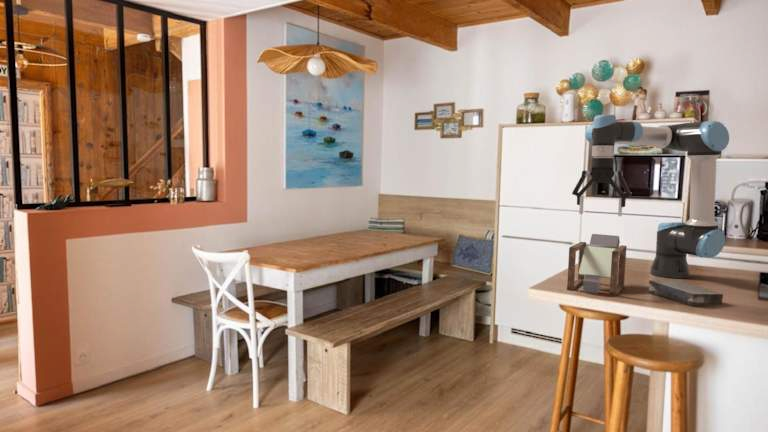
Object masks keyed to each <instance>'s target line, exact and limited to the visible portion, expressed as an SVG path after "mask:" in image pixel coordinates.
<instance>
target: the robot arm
mask: <svg viewBox="0 0 768 432" xmlns="http://www.w3.org/2000/svg"><path fill="white" fill-rule="evenodd" d="M616 118H617V117H616V115H614V114H599V115H595V116H594V118H593V123H592V124H591V125H589V126H588V127H587V128H586V130H585V138H586V141H588V142H589V144H590V143H591V144H592V146H591V149H592V150H591V157H592V159H591V165H590V167H591V168H590V171H589V170H582V172H581V177H580V178H579V180H578V182H577V183H576V185H575V187H574V189H572V192H571V194H572V195H574V196H576V205H577V206H579V213H578V215H583V214H584V200H585V199H584V198H585V196H584V194H585V192H587V190H588V189H590V187H592V185H593V184H594V183H598V184H599V183H600V184H601V183H602V184H606V183H607V184H609V185H610V186H611V187H612V188H613V189H614V190H615V191H616V193H617V194H618V195H619V196H620V198H618V209H617V210H618V212H617V213H618V215H617V217H622V216H623V214H622V213H623V208H624V207H626V200H627V198H629V197H631V196H632V193H631V190H630V189H629V187H628V185H627V182H626V181H625V178H624V176H623V175H624V173H623V170H618V171H614V157H615V144H618V145H621V144H622V145H636V146H653V147H655V148H657V149H665V150H671V151H678V152H686V157H687V158H688V159H689V160H690V161H691V163H690V189H689V219H688V220H687V221H683V222H682V221H681V222H680V221H679V222H677V221H676V222H674V221H673V222H660V223H659V224H658V226H657V231H656V246H655V257H654V260H653V261H652V263H651V266H650V270H649V273H650V274H651V275H654V276H658V277H663V278H669V279H688V278H690V275H691V271H690V267H689V263H688V260H687V255H690V256H696V257H700V258H709V259H710V258H714V257H717V256H718V255H719V254H720V253H721V252H722V251H723V249H724V248H725V244H726V235H725V234H724V232H723V231H722V230H720V229H719V223H718V222H717V221H716V220H715V211H716V210H715V204H716V183H717V182H716V181H717V177H716V176H717V160H718V159H719V158H720V157H721V156H722V151H724V150H725V149H727V147H728V145H729V143H730V133H729V130H728V129H727V127H726V126H725V124H723V123H722V122H720V121H716V120H713V121H712V120H706V121H705V120H704V121H694V122H684V123H677V124H670V125H669V124H667V125H665V124H663V125H658V126H643V125H642V124H641V123H640V122H638V121H633V120H631V121H630V120H629V121H626V120H623V121H621V120H620V121H618V120H617V119H616ZM589 175H590V177H591V179H589V180H588V182H587V183H586V184H585V185H584V187H582V186H583V183H584V181H585V180H586V178H587V177H588V176H589ZM614 176H616V178H618V180H619V182H620V184H621V187H622V188H623V190H624V192H623V190H622V189H621V187H619V186H618V185H617V183H616V182H615V181H614V180H613V177H614ZM581 187H582V189H581ZM580 189H581V190H580ZM579 190H580V191H579ZM582 195H583V196H582Z"/></svg>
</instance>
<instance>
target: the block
mask: <svg viewBox="0 0 768 432" xmlns="http://www.w3.org/2000/svg"><path fill="white" fill-rule="evenodd" d="M648 294H650V295H653V296H656V297H659V298H662V299H666V300H669V301H672V302H676V303H679V304H681V305H686V306H688V307H704V306H715V305H716V306H718V305H717V304H719V305H722V303H723V298H724V293H720V292H716V291H713V290H709V289H706V288H703V287H699V286H696V285H692V284H689V283H686V282H682V281H678V280H653V279H652V280H648Z"/></svg>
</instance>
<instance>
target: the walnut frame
mask: <svg viewBox="0 0 768 432" xmlns="http://www.w3.org/2000/svg"><path fill="white" fill-rule="evenodd" d="M586 244H587V242H586V241H579V242H578V243H575V244H573V245H572V246H569V248H568V249H569V250H568V267H567V268H568V269H567V283H566V284H567V285H566V286H567V287H566V290H567V291H574V290H575V289H577V288H578V287H579V286H581V285H583V280H584V278H585V275H579V274H578V273H579V269H580V265H581V261H582V257H583V253H584V249H585V245H586ZM578 251H579V252H578ZM577 252H578V253H579V254H578V271H577V272H578V273H577V279H575V277H576V276H575V275H576V274H575V273H576V257H577V255H576V254H577ZM626 260H627V245H622V244H621V245H619V247H618V248H617V249H615V250H614V251H612V262H611V278H610V281H609V296H610V297H617V295H618V294H619V293H620V292H621V290H623V288H625V277H626V276H625V275H626V262H627V261H626Z"/></svg>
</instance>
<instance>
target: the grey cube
mask: <svg viewBox="0 0 768 432" xmlns="http://www.w3.org/2000/svg"><path fill="white" fill-rule="evenodd" d="M582 287H583V288H582V289H583V291H582V292H583V293H586V294H591V295H599V292H600V290H601V277H600V276H599V275H590V274H586V275H584V280H583V283H582Z"/></svg>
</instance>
